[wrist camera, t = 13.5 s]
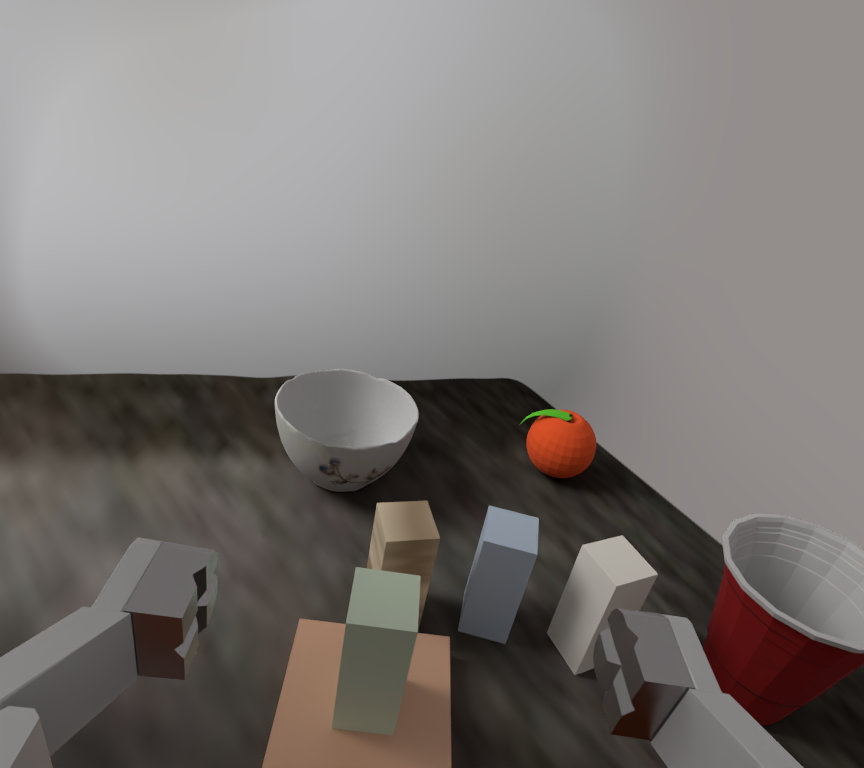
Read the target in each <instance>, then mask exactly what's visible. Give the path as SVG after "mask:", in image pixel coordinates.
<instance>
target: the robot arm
mask: <svg viewBox="0 0 864 768" xmlns="http://www.w3.org/2000/svg"><path fill="white" fill-rule="evenodd" d="M217 564H218V551H216V550H211V549H205V548H200V547H194V546H188V545H182V544H176V543H171V542H164V541H158V540H151V539H145V538H139V537H138V538H137V539H136V540H135V541H134V542H133V543H131V545H130V546H129V548H128V550H127V551H126V553H125V554H124V556H123V557H122V559H121V561H120V562H119V564H118V565H117V567H116V569H115V570H114V572H113V573H112V575H111V577H110V578H109V580H108V581H107V583H106V584H105V586H104V588H103V589H102V591H101V592H100V594H99V596H98V597H97V599H96V600H95V602H94V604H93V605H92V607H81V608H80V609H78V610H77V611H75V612H73V613H72V614H70V615H68V616H67V617H65V618H64V619H62V620H60V621H59V622H57V623H55V624H54V625H52V626H51V627H49V628H47V629H46V630H44V631H42V632H41V633H39V634H38V635H36V636H34V637H33V638H31V639H29V640H28V641H26V642H24V643H23V644H21V645H20V646H18V647H16V648H15V649H13V650H11V651H10V652H8V653H7V654H5V655H3V656H2V657H0V768H53V766H52V762H51V758H50V756H51V755H52V754H53V753H55V752H56V751H57V750H58V749H59V748H60V747H61V746H62V745H64V744H65V743H66V742H67V741H68V740H69V739H70V738H72V737H73V736H74V735H75V734H76V733H77V732H78V731H79V730H81V729H82V728H83V727H84V726H85V725H86V724H87V723H88V722H90V721H91V720H92V719H93V718H94V717H95V716H96V715H98V714H99V713H100V712H101V711H102V710H103V709H104V708H105V707H107V706H108V705H109V704H110V703H111V702H112V701H113V700H114V699H116V698H117V697H118V696H119V695H120V694H121V693H122V692H123V691H125V690H126V689H127V688H128V687H129V686H130V685H131V684H133V683H134V682H135V681H136V680H137V679H138V676H145V677H155V678H165V679H176V680H185V679H186V677H187V674H188V672H189V669H190V667H191V665H192V662H193V660H194V657H195V655H196V652H197V650H198V633H199V632H201V631H202V630H203V629H205V628H206V627H207V625H208V623H209V620H210V618H211V615H212V612H213V608H214V605H215V601H216V597H217V590H218V578H217V576H216V575H215V574H214V571H215V569H216V567H217ZM607 620H608V623H609V628H607V629H605V630H604V631H602V632H600V633H599V635H598V638H597V640H596V642H595V646H594V653H593V661H594V670H595V674H596V679H597V680H598V682H599V683H600V684H601V685H602V686H603V688H604V689H605V690H606V694H605V696H604V698H603V700H602V703H603V707H604V711H605V715H606V719H607V723H608V727H609V731H610V734H611V735H617V736H624V737H630V738H636V739H643V740H649V741H651V745H652V746H653V747H654V749H655V750H656V752H657V753H658V754H659V756H660V757H661V759H662V760H663V761H664V763H665V764H666V766H667V767H668V768H803V767H802V766H801V765H800V764H799V763H798V762H797V761H796V760H795V759H794V758H793V757H792V756H791V755H790V754H789V753H788V752H787V751H786V750H785V749H784V748H783V747H782V746H781V745H780V744H779V743H778V742H777V741H776V740H775V739H774V738H773V737H772V736H771V735H770V734H769V733H768V732H767V731H766V730H765V729H764V728H763V727H762V726H761V725H760V724H759V723H758V722H757V721H756V720H755V719H754V718H753V717H752V716H751V715H750V714H749V713H748V712H747V711H746V710H745V709H744V708H743V707H742V706H741V705H740V704H739V703H738V702H736V701H735V700H734V699H733V698H732V697H731V696H730V695H729V694H725V693H722V692H721V689H720V687H719V685H718V682H717V680H716V678H715V676H714V673H713V671H712V669H711V667H710V664H709V662H708V660H707V657H706V655H705V653H704V651H703V648H702V646H701V644H700V641H699V639H698V637H697V635H696V632H695V630H694V628H693V625H692V623H691V622H690V621H689V620H688V619H687V618H683V617H677V616H670V615H661V614H659V613H651V612H644V611H636V610H628V609H621V608H616V609H614V610H613V611H611V613H610V615H609V617H608V618H607Z"/></svg>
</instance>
